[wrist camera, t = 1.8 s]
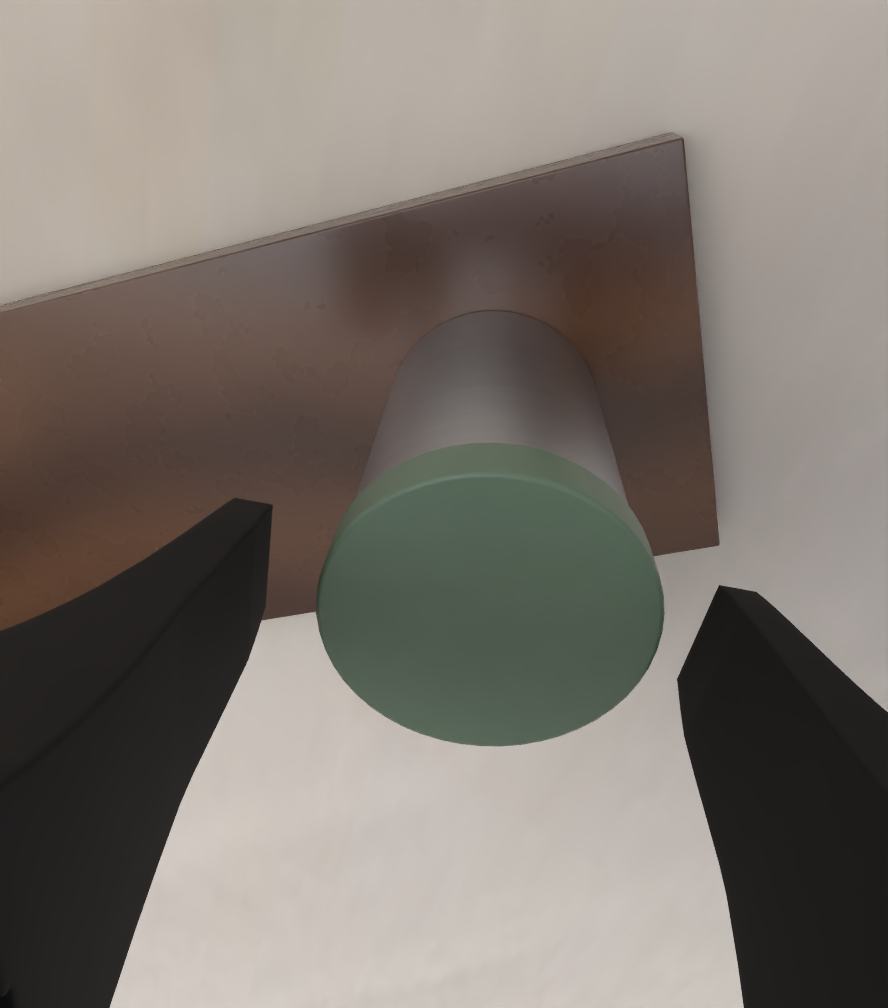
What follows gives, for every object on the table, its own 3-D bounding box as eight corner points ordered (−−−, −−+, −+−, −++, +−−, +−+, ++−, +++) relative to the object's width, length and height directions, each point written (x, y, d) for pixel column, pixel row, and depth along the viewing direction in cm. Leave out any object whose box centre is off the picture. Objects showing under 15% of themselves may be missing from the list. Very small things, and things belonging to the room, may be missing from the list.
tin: (617, 485, 20) (681, 726, 13) (416, 522, 20) (371, 765, 14) (584, 279, 17) (642, 437, 10) (357, 331, 18) (264, 510, 11)
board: (709, 522, 21) (720, 546, 20) (-38, 648, 26) (-61, 673, 24) (672, 131, 16) (684, 137, 15) (-239, 367, 21) (-278, 383, 20)
